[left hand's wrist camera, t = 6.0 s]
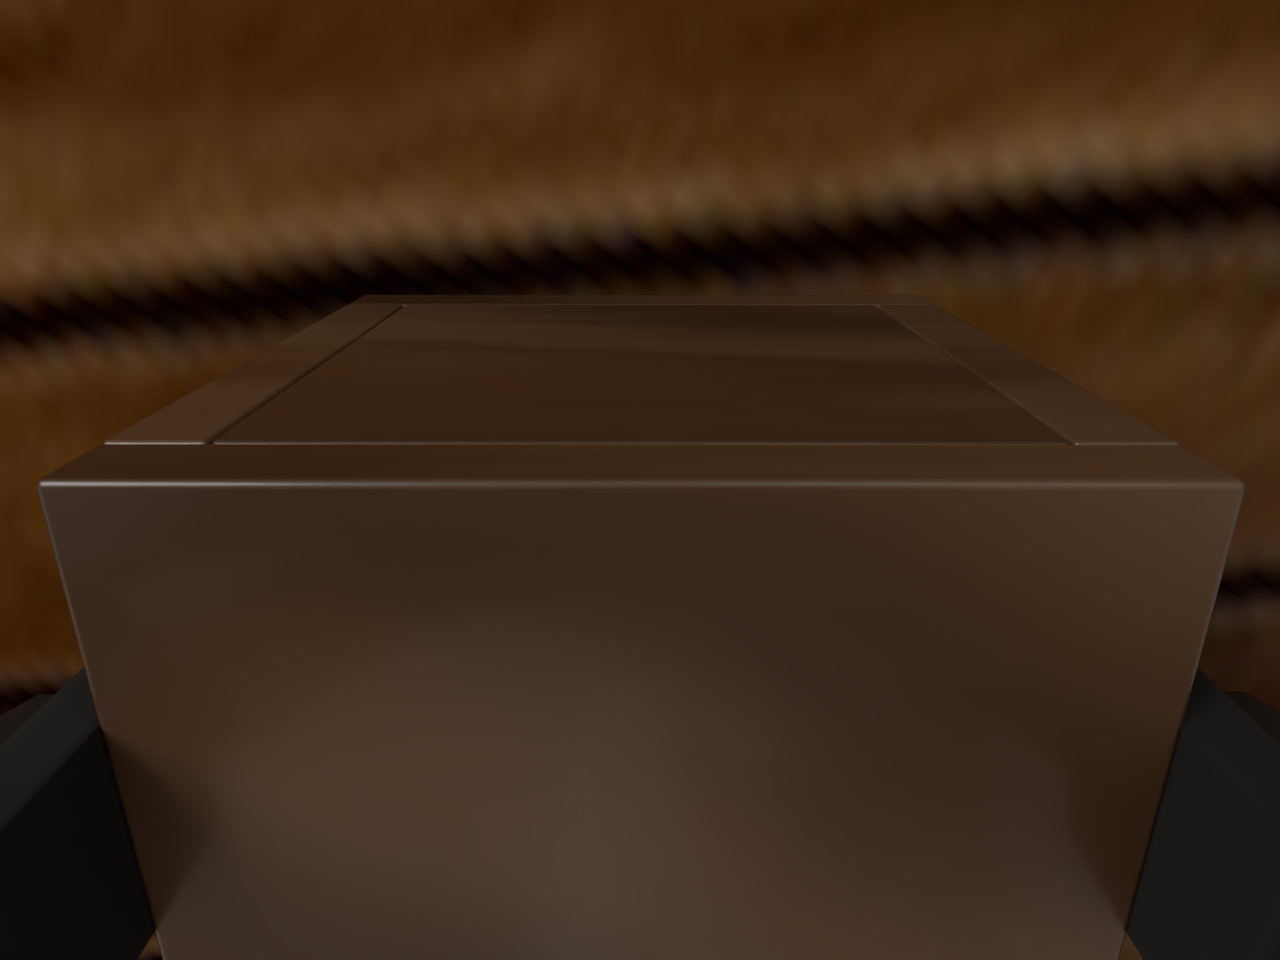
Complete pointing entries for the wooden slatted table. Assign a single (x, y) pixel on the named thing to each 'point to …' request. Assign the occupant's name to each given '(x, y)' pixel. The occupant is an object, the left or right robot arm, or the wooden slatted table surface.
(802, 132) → the wooden slatted table surface
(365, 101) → the wooden slatted table surface
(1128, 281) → the wooden slatted table surface
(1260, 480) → the wooden slatted table surface
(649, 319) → the cabinet
